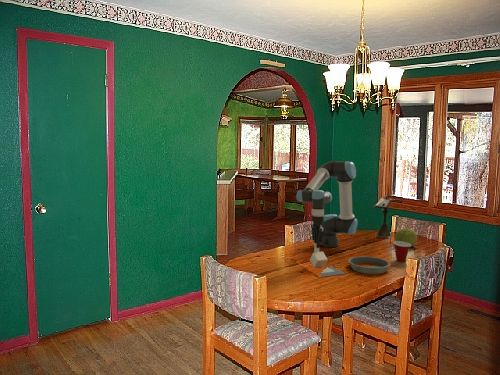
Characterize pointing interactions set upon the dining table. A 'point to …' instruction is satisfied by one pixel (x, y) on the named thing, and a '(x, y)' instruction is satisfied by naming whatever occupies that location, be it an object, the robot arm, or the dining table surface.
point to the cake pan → (371, 260)
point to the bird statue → (384, 229)
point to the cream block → (318, 259)
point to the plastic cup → (401, 250)
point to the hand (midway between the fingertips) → (316, 252)
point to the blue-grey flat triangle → (331, 272)
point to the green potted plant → (406, 236)
